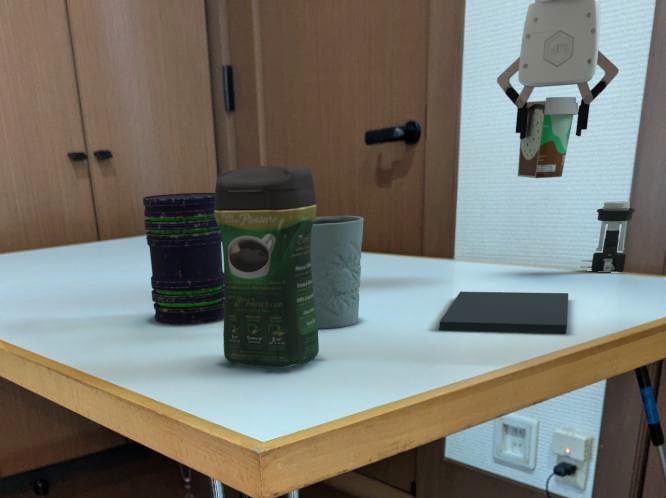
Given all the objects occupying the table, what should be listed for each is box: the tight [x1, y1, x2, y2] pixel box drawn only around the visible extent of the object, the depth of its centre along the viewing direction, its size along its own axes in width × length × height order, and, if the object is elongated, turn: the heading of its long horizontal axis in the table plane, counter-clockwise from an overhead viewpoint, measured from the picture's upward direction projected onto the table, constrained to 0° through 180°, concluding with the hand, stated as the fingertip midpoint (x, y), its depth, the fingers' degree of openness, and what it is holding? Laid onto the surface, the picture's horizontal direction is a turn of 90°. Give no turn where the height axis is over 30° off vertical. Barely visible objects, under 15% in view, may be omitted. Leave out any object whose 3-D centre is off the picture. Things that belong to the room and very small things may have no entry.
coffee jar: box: [214, 165, 320, 369], centre depth 80 cm, size 10×8×19 cm
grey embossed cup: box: [310, 215, 365, 330], centre depth 98 cm, size 10×10×12 cm
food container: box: [517, 96, 579, 179], centre depth 115 cm, size 12×6×10 cm, turn 179°
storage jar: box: [142, 192, 224, 326], centre depth 103 cm, size 10×10×15 cm
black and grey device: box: [579, 200, 636, 273], centre depth 124 cm, size 7×5×10 cm
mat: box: [438, 291, 569, 335], centre depth 99 cm, size 14×20×1 cm
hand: (550, 136), depth 115 cm, fingers closed on food container, 7 cm apart
